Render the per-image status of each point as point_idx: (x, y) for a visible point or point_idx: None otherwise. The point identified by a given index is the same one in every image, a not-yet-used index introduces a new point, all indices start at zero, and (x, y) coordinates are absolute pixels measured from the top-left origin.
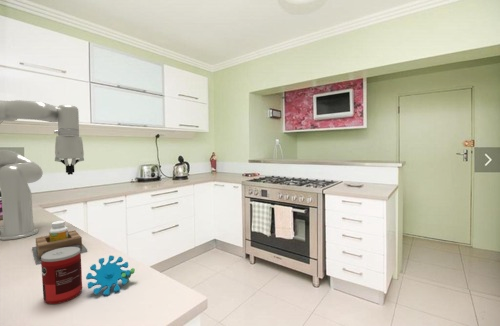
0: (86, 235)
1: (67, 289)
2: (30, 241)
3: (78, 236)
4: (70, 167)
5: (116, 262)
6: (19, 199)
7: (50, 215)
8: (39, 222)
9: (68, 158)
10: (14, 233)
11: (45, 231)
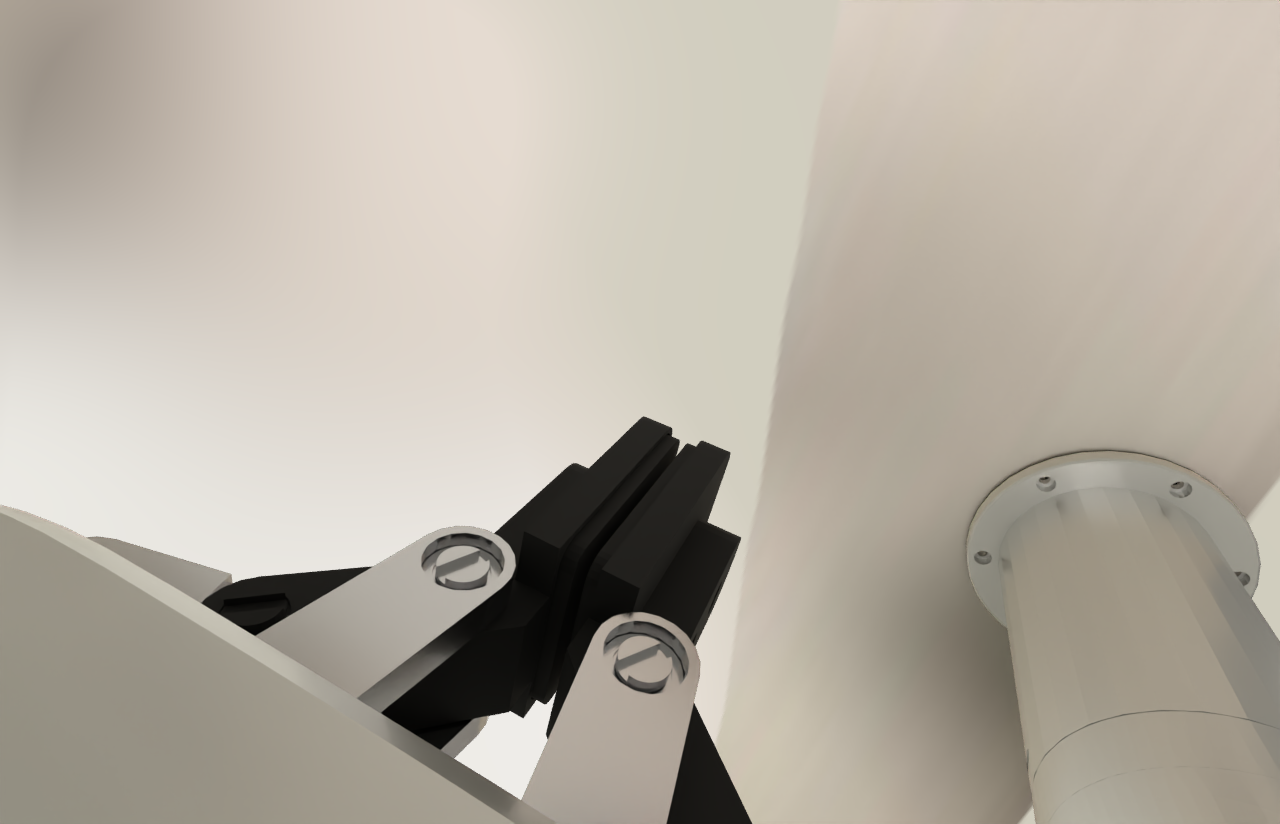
0: (847, 4)
1: None
2: (1180, 289)
3: None
4: (598, 549)
5: None
6: (1273, 741)
7: None
8: (833, 726)
9: (462, 774)
10: (1189, 521)
11: (942, 470)
